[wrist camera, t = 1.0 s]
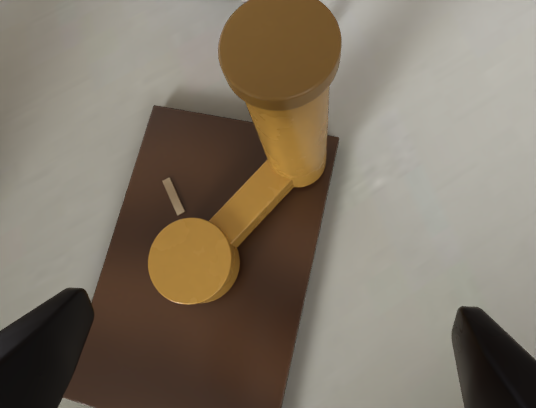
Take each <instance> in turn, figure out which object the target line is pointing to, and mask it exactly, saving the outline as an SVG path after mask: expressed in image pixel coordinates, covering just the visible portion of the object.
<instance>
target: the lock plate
mask: <svg viewBox="0 0 536 408" xmlns="http://www.w3.org/2000/svg"><path fill="white" fill-rule="evenodd" d="M338 143H339V137H334V136H328V135H327V153H326V166H325V169H324V171H323V173H322V175H321V176H320V177H319V178H318V179H317V180H316V181H315V182H314V183H312V184H310V185H307V186H304V187H293V188H292V189H291V191H290V192H289V193H288V194H287V195H286V196H285V197H284V198H283V199H282V200H281V201H280V202H279V203H278V204H277V205H276V207H275V208H274V209H273V210H272V211H271V212H270V213H269V214H268V215H267V216H266V217H265V218H264V219H263V220H262V221H261V222H260V224H259V225H258V226H257V227H256V228H255V229H254V230H253V231H252V232H251V233H250V234H249V235H248V236H247V237H246V238H245V240H244V241H243V242H242V243H241V244H240V245H239V246H238V247H237V249H238V252H239V257H240V267H239V272H238V275H237V278H236V280H235V282H234V284H233V285H232V287H231V288H230V289H229V291H228V292H227V293H225V294H224V295H223V296H222V297H220V298H218V299H216V300H214V301H212V302H208V303H200V304H189V305H188V304H179V303H175V302H172V301H170V300H168V299H167V298H165V297H164V296H163V295H161V294H160V293H159V292H158V290H157V289H156V288H155V286H154V285H153V283H152V280H151V278H150V275H149V270H148V257H149V252H150V249H151V246H152V244H153V242H154V240H155V238H156V237H157V235H158V234H159V233H160V232H161V231H162V230H163V229H164V228H165V227H166V226H168V225H169V224H171V223H173V222H174V221H177V220H179V219H183V218H201V219H204V220H207V221H209V220H210V219H211V218H212V217H213V216H214V215H215V214H216V213H217V212H218V211H219V210H220V209H221V208H222V207H223V205H224V204H225V203H226V202H227V201H228V200H229V199H230V198H231V197H232V196H233V195H234V194H235V193H236V192H237V191H238V190H239V189H240V188H241V187H242V186H243V184H244V183H245V182H246V181H247V180H248V179H249V178H250V177H251V176H252V175H253V174H254V173H255V172H256V171H257V170H258V169H259V168H260V167H261V166H262V165H263V163H264V162H265V161H266V160H267V156H266V154H265V151H264V149H263V146H262V143H261V141H260V138H259V136H258V133H257V131H256V128H255V126H254V123H253V122H248V121H242V120H236V119H230V118H225V117H219V116H213V115H207V114H202V113H196V112H190V111H184V110H179V109H173V108H167V107H161V106H155V105H154V106H153V109H152V113H151V116H150V119H149V122H148V125H147V128H146V132H145V135H144V138H143V141H142V144H141V147H140V151H139V154H138V157H137V160H136V163H135V167H134V170H133V173H132V176H131V179H130V182H129V186H128V189H127V192H126V195H125V198H124V201H123V205H122V208H121V211H120V214H119V217H118V221H117V224H116V227H115V230H114V233H113V236H112V240H111V243H110V246H109V249H108V252H107V255H106V259H105V262H104V265H103V268H102V271H101V275H100V278H99V281H98V284H97V287H96V290H95V294H94V297H93V300H92V303H91V304H92V306H93V308H94V313H95V315H94V321H93V323H92V326H91V329H90V331H89V334H88V337H87V340H86V342H85V345H84V348H83V350H82V353H81V356H80V358H79V361H78V364H77V367H76V369H75V372H74V374H73V376H72V379H71V381H70V383H69V385H68V387H67V389H66V391H65V393H64V395H63V398H66V399H69V400H72V401H75V402H78V403H81V404H84V405H87V406H90V407H93V408H282V403H283V398H284V394H285V389H286V384H287V380H288V375H289V370H290V366H291V361H292V357H293V352H294V347H295V343H296V338H297V333H298V329H299V324H300V319H301V315H302V310H303V306H304V301H305V296H306V292H307V287H308V282H309V278H310V273H311V269H312V264H313V259H314V255H315V250H316V245H317V241H318V236H319V231H320V227H321V222H322V218H323V213H324V208H325V204H326V199H327V194H328V190H329V185H330V180H331V176H332V171H333V167H334V162H335V157H336V153H337V148H338Z"/></svg>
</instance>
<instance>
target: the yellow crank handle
mask: <svg viewBox="0 0 536 408" xmlns="http://www.w3.org/2000/svg"><path fill="white" fill-rule="evenodd" d="M218 56H219V62H220V66H221V68H222V71H223V73H224V76H225V78H226V80H227V82H228V84H229V86H230V87H231V89H232V90H233V91H234V93H235V94H236V95H237V96H238V97H239V98H241V99H242V100H244V101H245V103H246V105H247V108H248V110H249V113H250V116H251V118H252V121H253V123H254V126H255V128H256V131H257V133H258V136H259V138H260V141H261V143H262V146H263V149H264V151H265V154H266V156H267V160H266V161H265V162H264V163H263V165H262V166H261V167H260V168H259V169H258V170H257V171H256V172H255V173H254V174H253V175H252V176H251V177H250V178H249V179H248V180H247V181H246V182H245V183H244V184H243V186H242V187H241V188H240V189H239V190H238V191H237V192H236V193H235V194H234V195H233V196H232V197H231V198H230V199H229V200H228V201H227V202H226V203H225V204H224V205H223V207H222V208H221V209H220V210H219V211H218V212H217V213H216V214H215V215H214V216H213V217H212V218H211V219H210V220H209V221H207V220H204V219H201V218H183V219H179V220H177V221H174V222H173V223H171V224H169V225H168V226H166V227H165V228H164V229H163V230H162V231H161V232H160V233H159V234H158V235H157V237H156V238H155V240H154V242H153V244H152V246H151V249H150V252H149V257H148V270H149V275H150V278H151V280H152V283H153V285H154V286H155V288H156V289H157V290H158V292H159V293H160V294H161V295H163V296H164V297H165V298H167V299H168V300H170V301H172V302H175V303H179V304H188V305H189V304H200V303H208V302H212V301H214V300H216V299H218V298H220V297H222V296H223V295H224V294H225V293H227V292H228V291H229V289H230V288H231V287H232V285H233V284H234V282H235V280H236V278H237V275H238V272H239V267H240V257H239V252H238V249H237V247H238V246H239V245H240V244H241V243H242V242H243V241H244V240H245V238H246V237H247V236H248V235H249V234H250V233H251V232H252V231H253V230H254V229H255V228H256V227H257V226H258V225H259V224H260V222H261V221H262V220H263V219H264V218H265V217H266V216H267V215H268V214H269V213H270V212H271V211H272V210H273V209H274V208H275V207H276V205H277V204H278V203H279V202H280V201H281V200H282V199H283V198H284V197H285V196H286V195H287V194H288V193H289V192H290V191H291V189H292V188H293V187H304V186H307V185H310V184H312V183H314V182H315V181H316V180H317V179H318V178H319V177H320V176H321V175H322V173H323V171H324V169H325V166H326V153H327V130H328V108H329V86H330V84H331V82H332V81H333V79H334V77H335V75H336V73H337V71H338V67H339V63H340V56H341V32H340V29H339V25H338V23H337V21H336V19H335V17H334V16H333V14H332V13H331V11H330V10H329V9H328V8H327V7H326V6H325V5H324V4H323V3H322V2H320V1H319V0H249V1H247V2H245V3H244V4H243V5H241V6H240V7H239V8H238V9H237V10H236V11H235V12H234V13H233V14H232V15H231V16H230V18H229V19H228V21H227V22H226V24H225V26H224V28H223V30H222V33H221V36H220V40H219V46H218Z"/></svg>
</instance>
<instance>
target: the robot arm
mask: <svg viewBox="0 0 536 408" xmlns="http://www.w3.org/2000/svg"><path fill="white" fill-rule="evenodd" d="M94 315H95V313H94V308H93V306H92V304H91V301H90V299H89V297H88V294H87V292H86V291H85V290H84V289H82V288H66V289H65V290H63V291H61V292H60V293H58V294H57V295H55V296H54V297H52V298H50V299H49V300H47V301H46V302H44V303H43V304H41V305H40V306H38V307H37V308H35V309H33V310H32V311H30V312H29V313H27V314H26V315H24V316H23V317H21V318H20V319H18V320H16V321H15V322H13V323H12V324H10V325H9V326H7V327H6V328H4V329H3V330H1V331H0V408H58V406H59V404H60V402H61V400H62V398H63V395H64V393H65V391H66V389H67V387H68V385H69V383H70V381H71V379H72V376H73V374H74V372H75V369H76V367H77V364H78V361H79V358H80V356H81V353H82V350H83V348H84V345H85V342H86V340H87V337H88V334H89V331H90V329H91V326H92V323H93V321H94ZM452 344H453V349H454V355H455V360H456V365H457V371H458V376H459V382H460V387H461V392H462V398H463V402H464V407H465V408H536V360H535V359H534V358H533V357H532V356H531V355H530V354H529V353H528V352H527V351H526V350H525V349H523V348H522V347H521V346H520V345H519V344H518V343H517V342H516V341H515V340H514V339H513V338H512V337H511V336H510V335H509V334H508V333H507V332H505V331H504V330H503V329H502V328H501V327H500V326H499V325H498V324H497V323H496V322H495V321H494V320H493V319H492V318H491V317H490V316H489V315H487V314H486V313H485V312H484V311H483V310H482V309H480V308H478V307H466V306H462V307H460V308H459V309H458V311H457V314H456V318H455V321H454V325H453V329H452Z"/></svg>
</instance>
